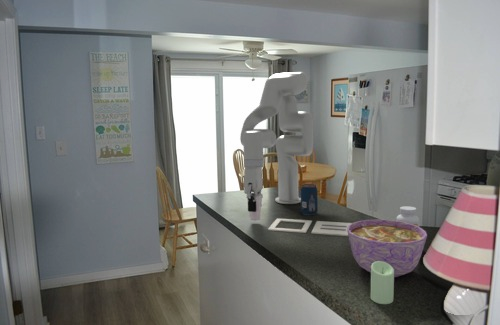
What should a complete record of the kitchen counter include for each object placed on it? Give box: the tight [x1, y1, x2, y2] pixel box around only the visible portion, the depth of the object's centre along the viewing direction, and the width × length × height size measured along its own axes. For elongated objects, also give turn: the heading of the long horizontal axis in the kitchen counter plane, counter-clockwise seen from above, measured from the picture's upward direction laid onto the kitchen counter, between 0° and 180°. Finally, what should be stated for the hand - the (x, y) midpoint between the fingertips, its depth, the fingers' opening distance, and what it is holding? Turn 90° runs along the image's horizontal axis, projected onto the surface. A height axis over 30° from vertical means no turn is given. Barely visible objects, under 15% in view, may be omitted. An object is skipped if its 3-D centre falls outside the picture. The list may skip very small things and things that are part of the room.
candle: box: [370, 261, 395, 305], centre depth 89 cm, size 5×5×8 cm
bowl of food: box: [347, 219, 428, 279], centre depth 103 cm, size 20×20×12 cm
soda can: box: [300, 183, 319, 216], centre depth 162 cm, size 7×7×12 cm
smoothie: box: [246, 193, 264, 221], centre depth 149 cm, size 6×6×14 cm
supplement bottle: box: [395, 205, 420, 227], centre depth 120 cm, size 7×7×13 cm
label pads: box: [267, 218, 353, 237], centre depth 144 cm, size 14×30×1 cm, turn 72°
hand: (254, 208), depth 150 cm, fingers closed on smoothie, 6 cm apart
